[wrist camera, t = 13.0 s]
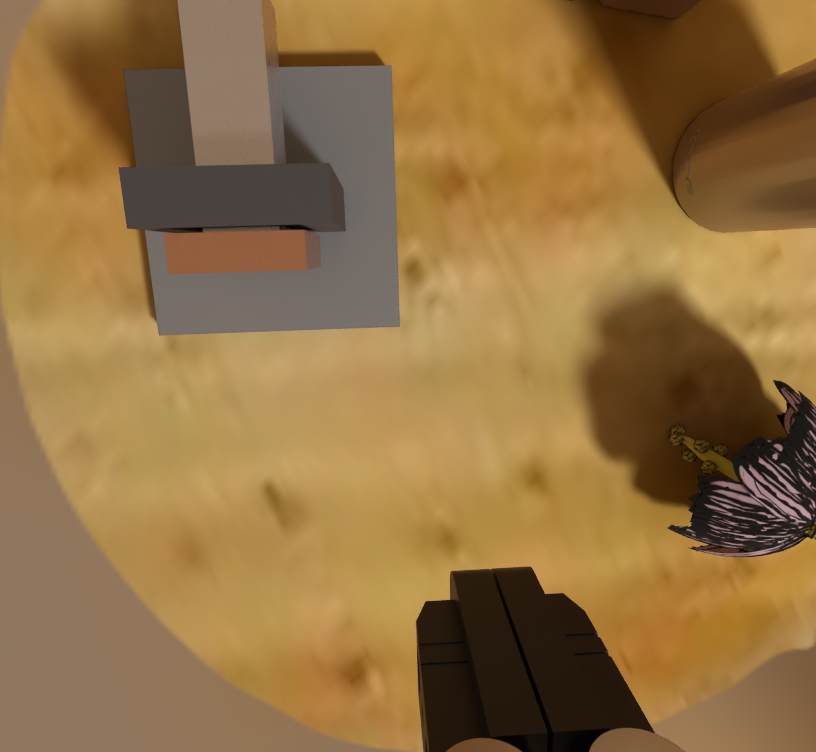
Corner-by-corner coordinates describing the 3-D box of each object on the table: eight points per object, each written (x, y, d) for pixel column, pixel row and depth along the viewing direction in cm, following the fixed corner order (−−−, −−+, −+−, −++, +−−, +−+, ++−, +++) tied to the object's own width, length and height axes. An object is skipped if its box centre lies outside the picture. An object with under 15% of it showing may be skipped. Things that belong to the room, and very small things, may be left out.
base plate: (390, 72, 36) (391, 65, 35) (399, 323, 40) (399, 326, 38) (133, 77, 35) (123, 69, 34) (167, 332, 39) (158, 335, 38)
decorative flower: (780, 654, 37) (748, 520, 29) (643, 555, 46) (593, 437, 39) (908, 515, 39) (908, 361, 32) (752, 449, 49) (725, 320, 42)
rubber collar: (343, 188, 36) (329, 162, 26) (345, 231, 37) (332, 222, 27) (193, 192, 36) (118, 167, 26) (198, 235, 36) (127, 228, 26)
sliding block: (305, 21, 31) (285, -44, 24) (321, 266, 34) (307, 269, 28) (183, 23, 31) (128, -43, 24) (210, 270, 34) (168, 274, 27)
